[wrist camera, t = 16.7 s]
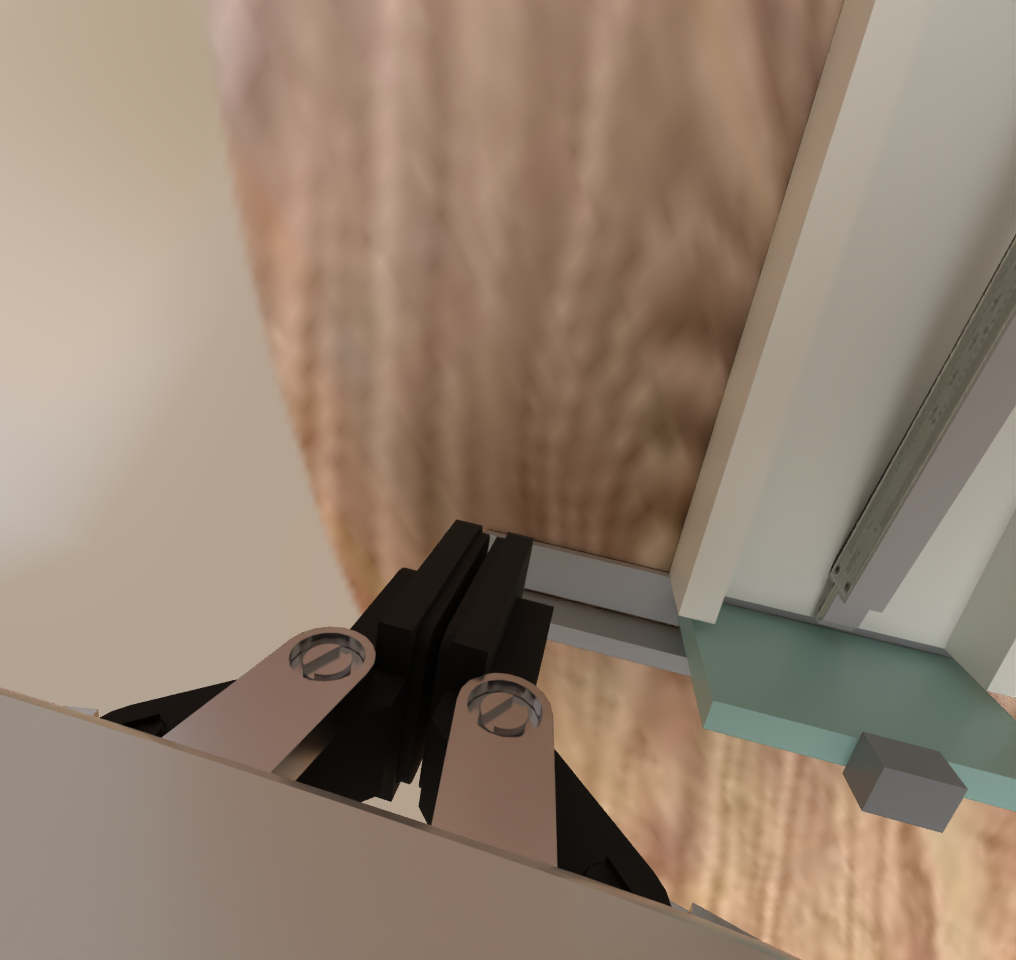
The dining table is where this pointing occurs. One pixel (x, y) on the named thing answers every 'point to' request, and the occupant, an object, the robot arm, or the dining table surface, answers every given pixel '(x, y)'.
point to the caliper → (931, 458)
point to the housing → (849, 362)
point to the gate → (856, 712)
